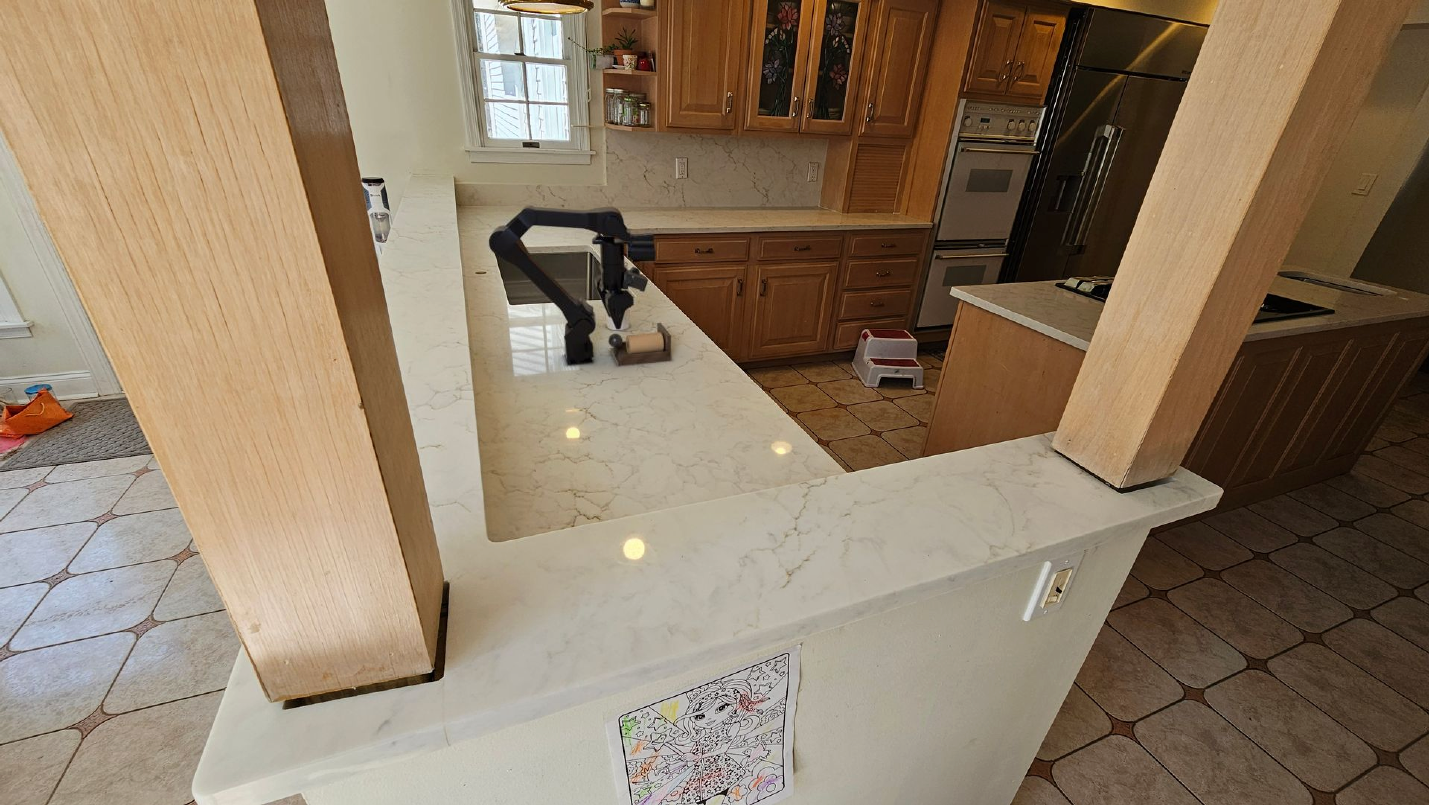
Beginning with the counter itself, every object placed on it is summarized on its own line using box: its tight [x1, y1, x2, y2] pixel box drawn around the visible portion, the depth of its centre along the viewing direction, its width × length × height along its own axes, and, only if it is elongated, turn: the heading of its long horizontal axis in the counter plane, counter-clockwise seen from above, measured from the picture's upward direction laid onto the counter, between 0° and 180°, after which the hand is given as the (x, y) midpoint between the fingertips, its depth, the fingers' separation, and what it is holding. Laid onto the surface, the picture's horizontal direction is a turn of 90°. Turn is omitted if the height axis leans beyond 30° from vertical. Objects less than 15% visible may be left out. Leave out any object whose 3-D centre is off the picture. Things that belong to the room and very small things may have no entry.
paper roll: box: [625, 332, 664, 354], centre depth 160 cm, size 9×5×5 cm, turn 110°
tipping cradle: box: [607, 322, 672, 367], centre depth 160 cm, size 15×10×7 cm, turn 110°
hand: (614, 322), depth 155 cm, fingers open, 9 cm apart
